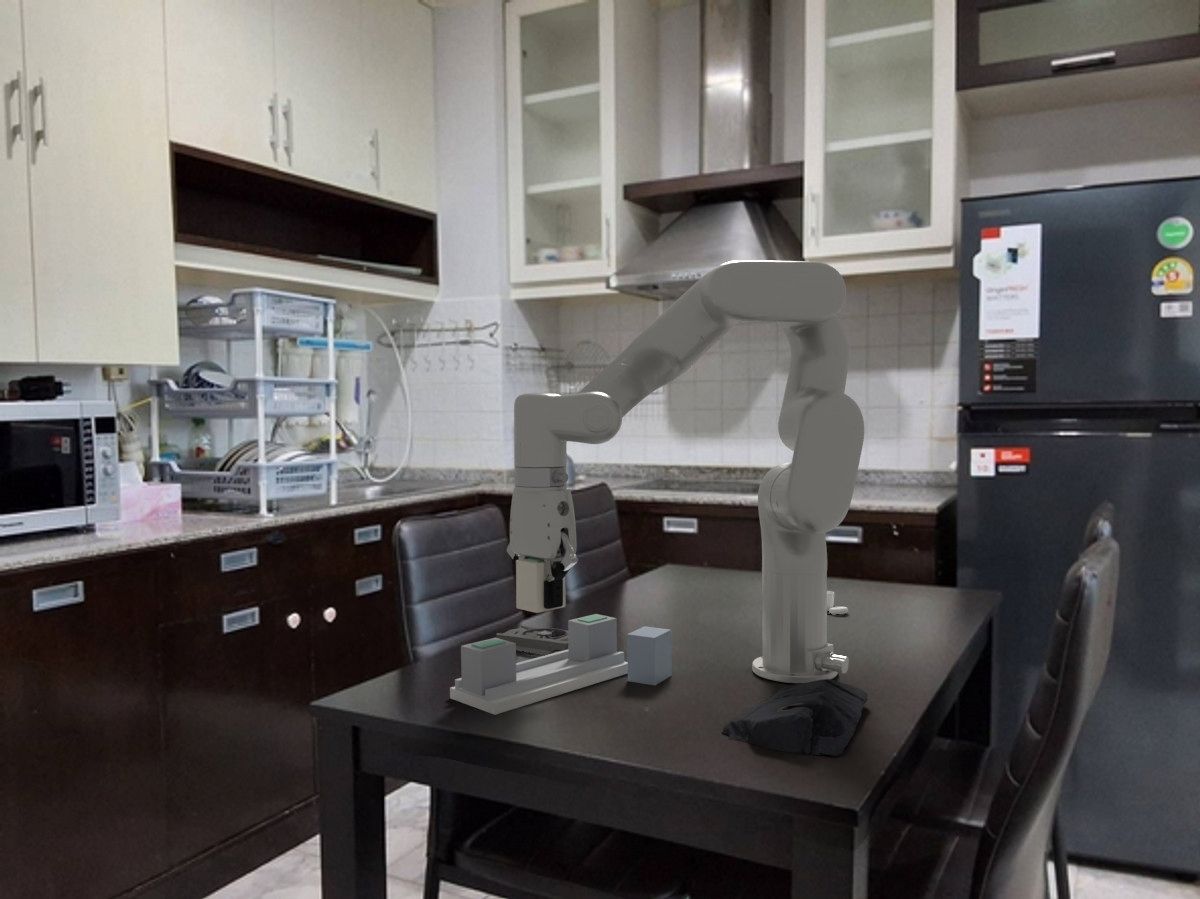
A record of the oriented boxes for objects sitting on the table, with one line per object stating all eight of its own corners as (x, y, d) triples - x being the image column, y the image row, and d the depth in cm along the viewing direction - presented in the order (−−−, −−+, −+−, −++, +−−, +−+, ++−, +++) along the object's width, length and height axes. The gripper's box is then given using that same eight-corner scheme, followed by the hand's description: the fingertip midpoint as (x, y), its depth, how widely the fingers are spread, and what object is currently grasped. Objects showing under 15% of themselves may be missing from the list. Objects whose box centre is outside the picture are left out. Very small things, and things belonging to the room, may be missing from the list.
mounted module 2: (617, 656, 140) (616, 617, 140) (589, 665, 136) (588, 623, 136) (596, 651, 144) (596, 612, 143) (568, 659, 139) (568, 619, 139)
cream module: (565, 607, 133) (565, 557, 132) (536, 613, 129) (536, 562, 128) (545, 602, 136) (544, 554, 135) (516, 608, 132) (516, 558, 132)
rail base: (630, 672, 138) (630, 653, 138) (494, 714, 120) (494, 693, 120) (584, 660, 146) (584, 642, 145) (450, 698, 127) (449, 677, 127)
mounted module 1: (516, 686, 126) (515, 641, 126) (481, 696, 122) (481, 650, 122) (496, 679, 129) (495, 636, 129) (461, 689, 125) (460, 644, 125)
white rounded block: (853, 618, 174) (853, 597, 174) (811, 618, 174) (811, 597, 174) (842, 608, 183) (842, 588, 182) (802, 608, 183) (802, 588, 183)
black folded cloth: (887, 710, 122) (887, 675, 121) (837, 766, 103) (837, 725, 103) (777, 692, 130) (777, 659, 129) (712, 741, 111) (712, 703, 111)
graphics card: (613, 627, 155) (575, 641, 144) (613, 649, 155) (575, 665, 144) (531, 617, 163) (490, 630, 153) (532, 638, 163) (490, 653, 153)
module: (671, 675, 137) (671, 629, 137) (655, 685, 132) (654, 637, 132) (644, 671, 139) (644, 626, 139) (627, 681, 134) (627, 634, 134)
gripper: (600, 480, 128) (600, 609, 129) (522, 474, 140) (523, 592, 141) (561, 484, 123) (561, 618, 124) (483, 477, 135) (484, 600, 136)
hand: (541, 603), depth 132 cm, fingers closed on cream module, 4 cm apart
